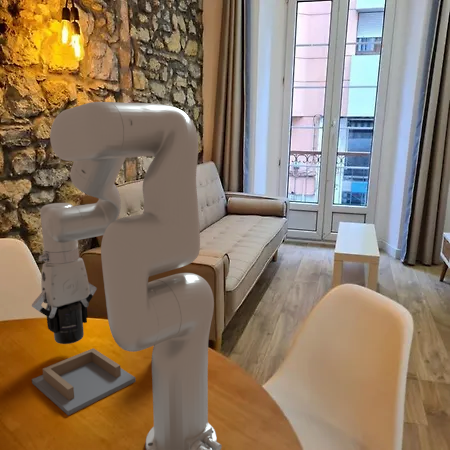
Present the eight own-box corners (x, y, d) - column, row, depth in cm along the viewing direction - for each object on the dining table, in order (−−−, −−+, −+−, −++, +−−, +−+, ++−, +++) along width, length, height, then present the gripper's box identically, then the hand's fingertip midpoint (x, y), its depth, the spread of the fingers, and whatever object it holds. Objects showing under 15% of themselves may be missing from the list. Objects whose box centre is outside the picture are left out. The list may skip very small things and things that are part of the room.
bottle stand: (135, 381, 97) (135, 367, 96) (68, 415, 86) (66, 399, 85) (96, 356, 108) (95, 343, 107) (32, 383, 96) (30, 368, 95)
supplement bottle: (67, 347, 103) (62, 299, 100) (48, 340, 106) (43, 294, 104) (90, 336, 108) (86, 290, 106) (71, 330, 112) (67, 285, 109)
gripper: (32, 267, 94) (40, 343, 98) (103, 251, 107) (108, 319, 110) (17, 260, 99) (26, 333, 103) (87, 246, 112) (92, 311, 115)
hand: (68, 325), depth 106 cm, fingers closed on supplement bottle, 6 cm apart
